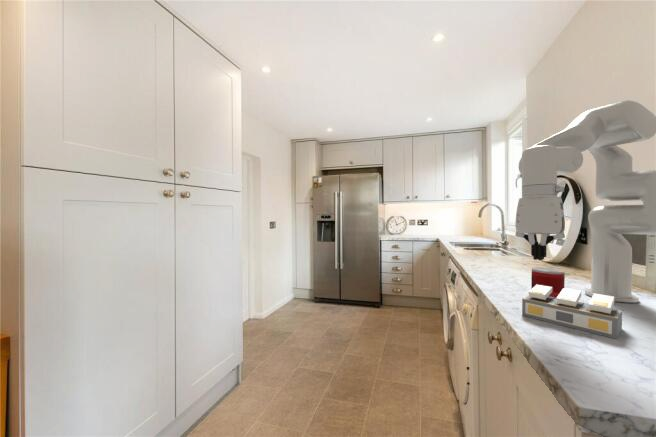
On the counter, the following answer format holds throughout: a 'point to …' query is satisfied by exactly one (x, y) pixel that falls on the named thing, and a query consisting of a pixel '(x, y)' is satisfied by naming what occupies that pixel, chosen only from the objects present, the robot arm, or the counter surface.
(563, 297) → the rocker
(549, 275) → the canned food
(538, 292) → the rocker
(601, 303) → the rocker
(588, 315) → the switch unit
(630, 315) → the counter surface
